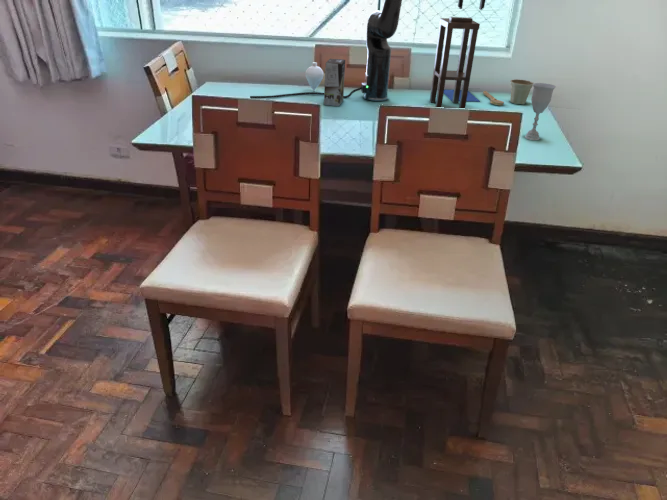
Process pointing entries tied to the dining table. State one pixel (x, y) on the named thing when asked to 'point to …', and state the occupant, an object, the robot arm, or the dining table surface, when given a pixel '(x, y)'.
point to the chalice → (539, 105)
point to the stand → (459, 74)
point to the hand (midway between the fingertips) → (470, 9)
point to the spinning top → (314, 75)
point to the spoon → (493, 99)
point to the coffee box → (334, 82)
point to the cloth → (469, 96)
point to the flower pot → (520, 91)
